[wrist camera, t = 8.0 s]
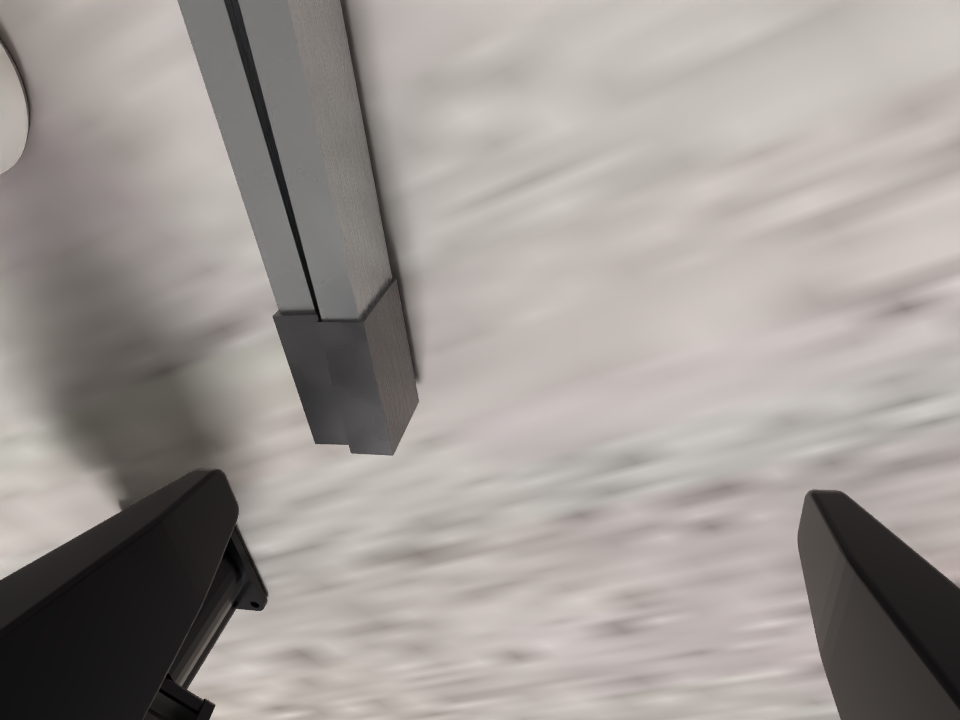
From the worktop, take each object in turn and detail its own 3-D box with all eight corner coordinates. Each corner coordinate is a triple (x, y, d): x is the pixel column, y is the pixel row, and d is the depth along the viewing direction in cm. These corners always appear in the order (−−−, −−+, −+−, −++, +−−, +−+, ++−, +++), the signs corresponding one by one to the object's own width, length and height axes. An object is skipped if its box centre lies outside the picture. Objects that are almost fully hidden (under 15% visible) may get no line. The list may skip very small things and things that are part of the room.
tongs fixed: (398, 392, 23) (370, 445, 21) (336, 391, 24) (301, 443, 21) (201, -455, 13) (89, -570, 10) (97, -417, 13) (-36, -517, 10)
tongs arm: (418, 401, 23) (386, 469, 20) (326, 398, 24) (280, 463, 20) (279, -361, 13) (166, -471, 10) (127, -321, 14) (-24, -411, 10)
